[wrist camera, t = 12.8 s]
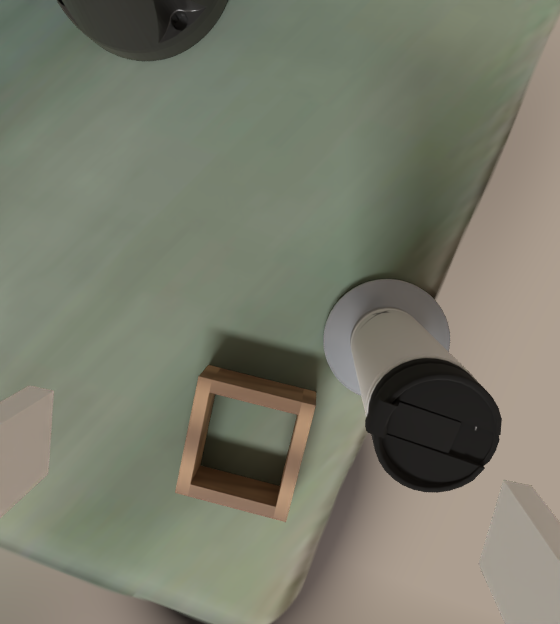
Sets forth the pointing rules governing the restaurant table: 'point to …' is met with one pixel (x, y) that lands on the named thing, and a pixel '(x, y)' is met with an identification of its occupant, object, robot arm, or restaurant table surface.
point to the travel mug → (421, 404)
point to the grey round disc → (371, 298)
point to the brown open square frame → (232, 486)
